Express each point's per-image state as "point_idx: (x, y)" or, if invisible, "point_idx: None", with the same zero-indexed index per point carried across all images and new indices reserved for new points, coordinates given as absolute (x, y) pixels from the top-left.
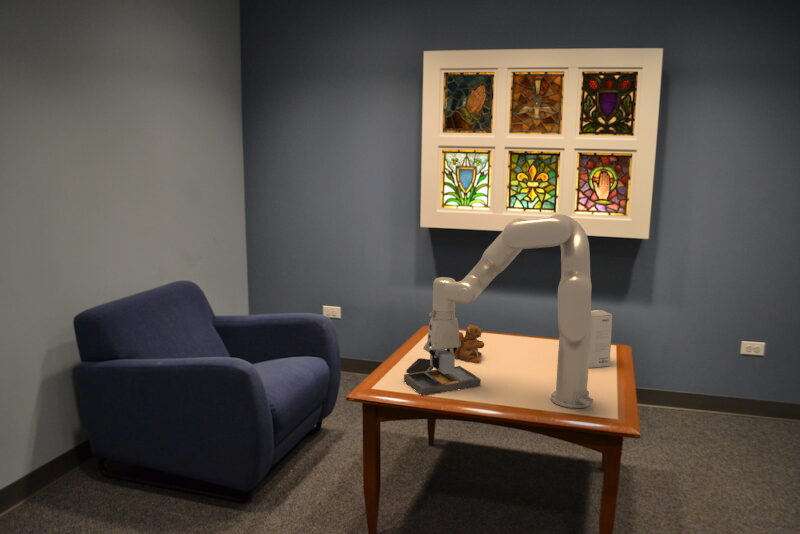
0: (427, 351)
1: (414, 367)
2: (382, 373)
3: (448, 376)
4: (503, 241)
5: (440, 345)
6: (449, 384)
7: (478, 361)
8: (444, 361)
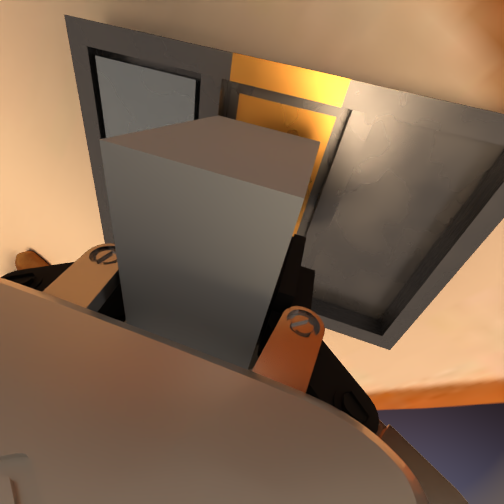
0: (416, 450)
1: (251, 359)
2: (373, 400)
3: None
4: None
5: (247, 491)
6: (314, 71)
7: (28, 255)
8: (304, 173)
